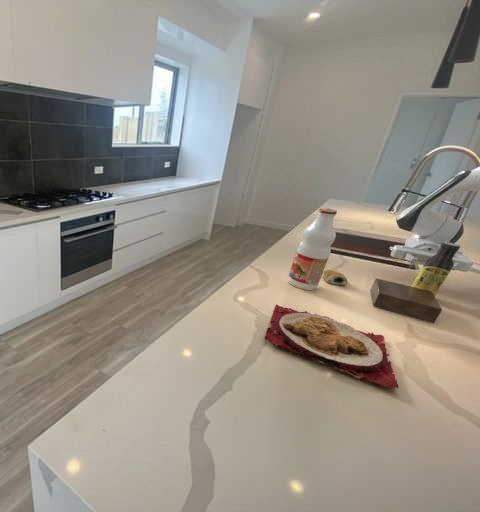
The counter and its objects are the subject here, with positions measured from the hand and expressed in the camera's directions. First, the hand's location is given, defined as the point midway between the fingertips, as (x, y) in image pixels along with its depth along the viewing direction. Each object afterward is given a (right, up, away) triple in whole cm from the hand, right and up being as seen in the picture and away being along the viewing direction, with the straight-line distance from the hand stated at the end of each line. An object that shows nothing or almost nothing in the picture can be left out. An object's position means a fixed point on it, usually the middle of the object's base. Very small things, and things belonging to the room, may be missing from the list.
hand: (433, 264), depth 103 cm
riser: (-17, -13, -6) cm, 23 cm away
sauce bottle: (-3, -12, +1) cm, 12 cm away
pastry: (-27, -7, +10) cm, 30 cm away
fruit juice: (-42, -8, +6) cm, 43 cm away
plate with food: (-57, -20, -24) cm, 65 cm away
